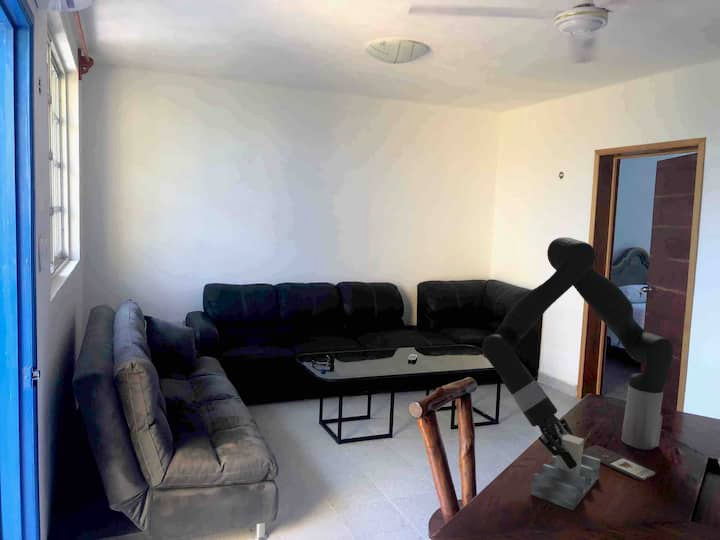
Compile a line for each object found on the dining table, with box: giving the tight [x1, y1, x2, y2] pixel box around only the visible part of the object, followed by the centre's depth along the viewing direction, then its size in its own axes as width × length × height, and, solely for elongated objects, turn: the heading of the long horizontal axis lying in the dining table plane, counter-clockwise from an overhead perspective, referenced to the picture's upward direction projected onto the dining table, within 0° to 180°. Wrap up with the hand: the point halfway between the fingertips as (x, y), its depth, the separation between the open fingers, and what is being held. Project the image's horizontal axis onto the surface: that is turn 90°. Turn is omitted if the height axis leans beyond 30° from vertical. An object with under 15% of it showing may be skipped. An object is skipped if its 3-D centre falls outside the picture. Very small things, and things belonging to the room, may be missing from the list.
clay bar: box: [555, 433, 585, 476], centre depth 145 cm, size 5×4×10 cm
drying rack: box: [530, 454, 601, 511], centre depth 146 cm, size 10×20×5 cm, turn 143°
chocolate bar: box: [583, 444, 659, 482], centre depth 161 cm, size 9×1×18 cm
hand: (576, 463), depth 144 cm, fingers closed on clay bar, 4 cm apart
